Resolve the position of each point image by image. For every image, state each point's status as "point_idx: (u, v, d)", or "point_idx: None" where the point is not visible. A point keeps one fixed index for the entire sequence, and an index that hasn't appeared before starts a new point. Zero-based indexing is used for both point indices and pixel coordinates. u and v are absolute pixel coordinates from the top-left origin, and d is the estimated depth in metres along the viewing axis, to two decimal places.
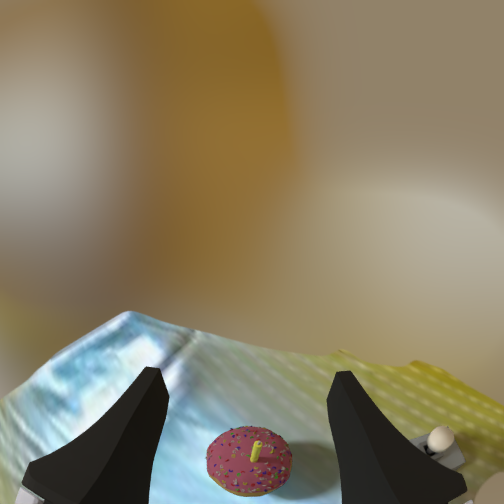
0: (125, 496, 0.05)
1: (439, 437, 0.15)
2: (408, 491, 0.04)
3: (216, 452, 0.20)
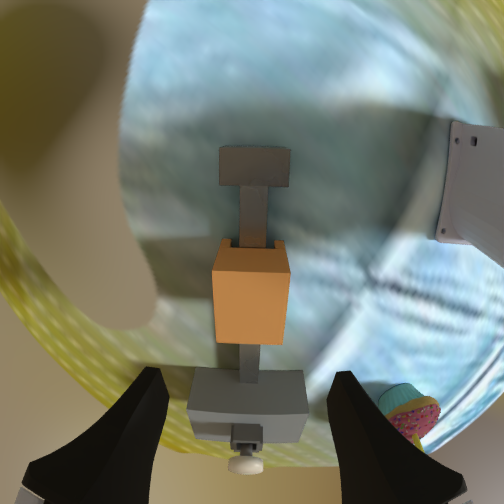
0: (125, 496, 0.05)
1: (250, 470, 0.16)
2: (408, 491, 0.04)
3: None
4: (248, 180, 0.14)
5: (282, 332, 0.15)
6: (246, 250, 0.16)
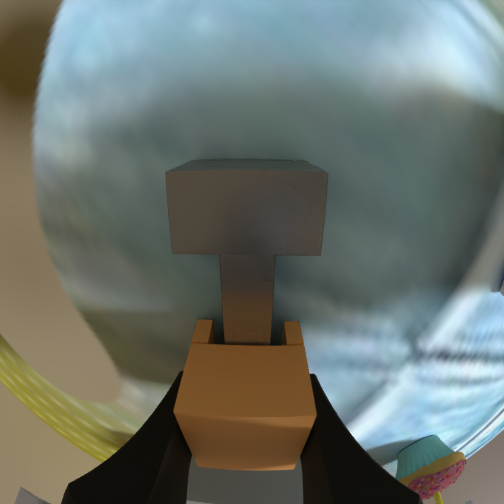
0: None
1: None
2: None
3: None
4: (233, 243, 0.06)
5: (295, 462, 0.08)
6: (236, 352, 0.09)
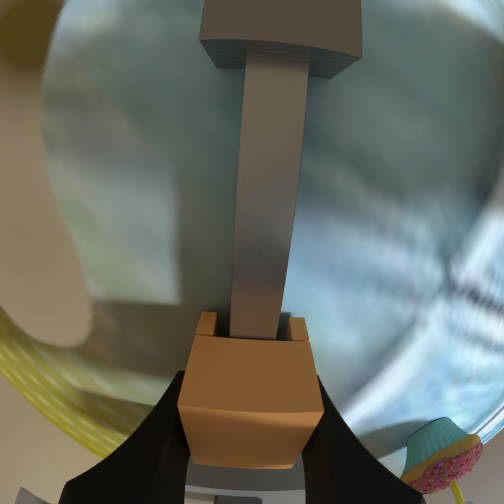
0: None
1: None
2: None
3: None
4: (269, 30, 0.04)
5: (293, 460, 0.08)
6: (242, 346, 0.09)
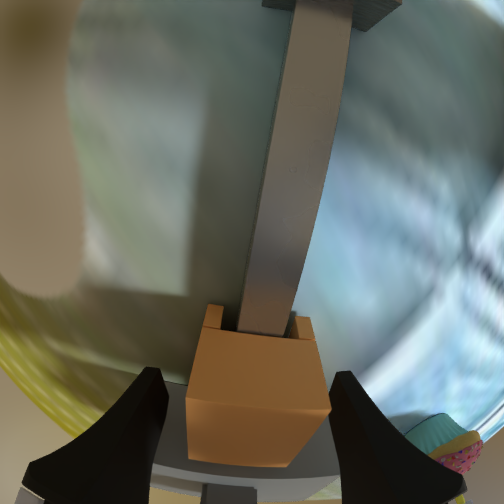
0: (125, 496, 0.05)
1: None
2: (408, 491, 0.04)
3: None
4: None
5: (290, 459, 0.08)
6: (250, 341, 0.09)
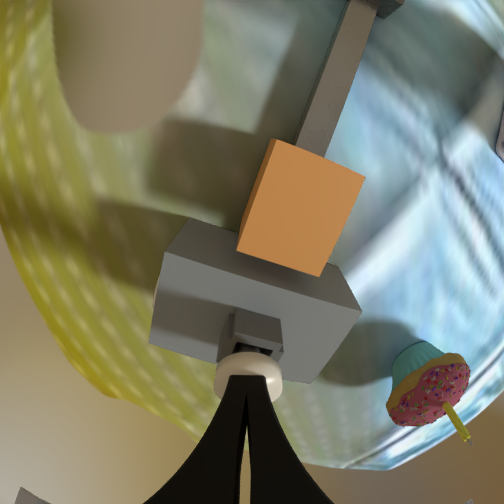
0: None
1: None
2: None
3: None
4: None
5: (326, 258, 0.12)
6: None
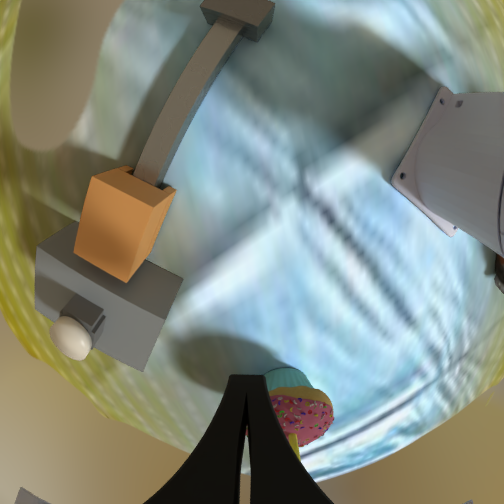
0: None
1: (72, 347, 0.13)
2: None
3: (316, 438, 0.19)
4: (226, 10, 0.10)
5: (129, 269, 0.14)
6: (135, 179, 0.15)
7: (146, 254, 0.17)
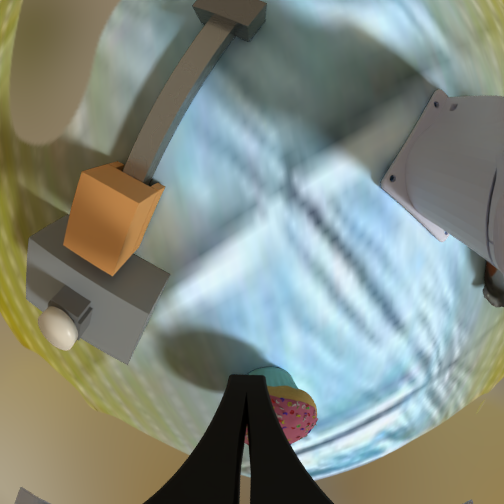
0: None
1: (59, 337, 0.13)
2: None
3: (299, 439, 0.20)
4: (217, 10, 0.10)
5: (115, 262, 0.14)
6: (125, 175, 0.15)
7: (134, 249, 0.17)
